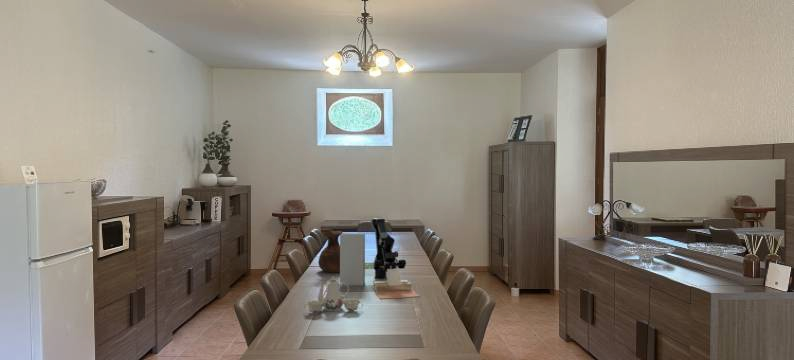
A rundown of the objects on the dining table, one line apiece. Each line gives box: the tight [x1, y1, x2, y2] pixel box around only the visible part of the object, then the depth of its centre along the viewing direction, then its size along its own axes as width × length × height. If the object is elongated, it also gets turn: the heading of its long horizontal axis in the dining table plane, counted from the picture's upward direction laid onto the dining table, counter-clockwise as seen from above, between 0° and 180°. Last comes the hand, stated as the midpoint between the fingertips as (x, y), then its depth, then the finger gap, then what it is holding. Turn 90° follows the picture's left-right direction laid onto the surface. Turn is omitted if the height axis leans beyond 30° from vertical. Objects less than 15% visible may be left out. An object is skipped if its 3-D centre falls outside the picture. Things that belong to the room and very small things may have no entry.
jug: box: [317, 228, 344, 274], centre depth 340 cm, size 22×22×30 cm
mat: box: [375, 289, 420, 300], centre depth 278 cm, size 13×22×1 cm, turn 104°
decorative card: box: [365, 257, 399, 270], centre depth 359 cm, size 33×8×20 cm
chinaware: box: [304, 276, 364, 315], centre depth 248 cm, size 28×17×17 cm, turn 106°
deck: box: [372, 279, 412, 292], centre depth 291 cm, size 11×20×4 cm, turn 104°
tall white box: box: [339, 233, 366, 286], centre depth 304 cm, size 14×6×30 cm, turn 84°
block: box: [386, 268, 401, 286], centre depth 287 cm, size 7×6×8 cm
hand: (392, 276), depth 291 cm, fingers closed
